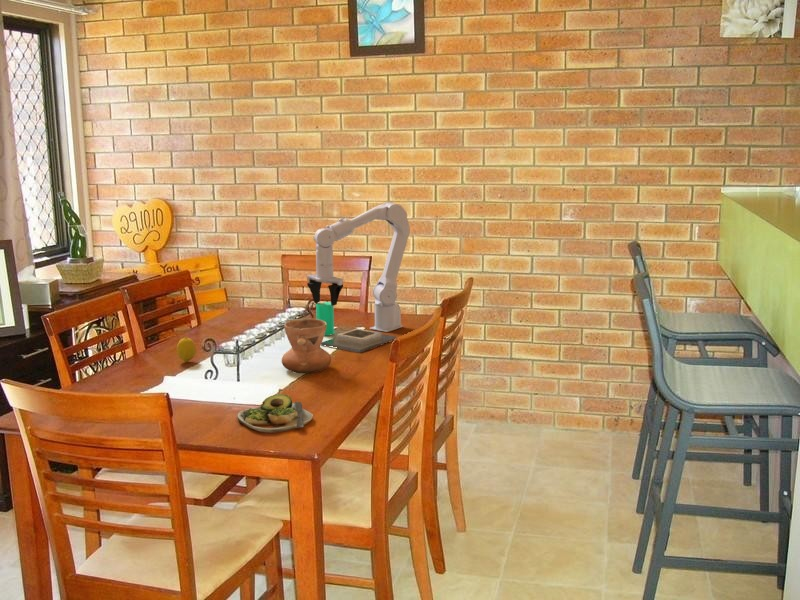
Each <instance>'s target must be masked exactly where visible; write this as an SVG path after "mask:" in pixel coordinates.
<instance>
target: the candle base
mask: <svg viewBox="0 0 800 600" xmlns="http://www.w3.org/2000/svg"><path fill="white" fill-rule="evenodd" d="M395 338H397V336H396V335H389V334H382V332H381V331H375V330H374V331H373V330H370V329H369V330H367V329H362V328H353V329H351V330H347V331H344V332H342V333H339V334H336V337H334V338H331V339H328V340H324V341H322V343H321V345H326V346H333V347H337V348H340V349H339V350H342V349H343V350H344V351H347V350H348V351H349V352H355V353H359V354H361V353H364V352H367V351H368V350H372V349H375V348H377V347H376V346H378V347H380V346H379V345H381V344H383V345H385V344H384V343H386V342H389V341H391V340H392V342H394V341H395V340H394V339H395ZM397 339H398V338H397ZM393 340H394V341H393ZM389 343H390V342H389ZM386 344H387V343H386ZM321 345H320V346H321ZM326 346H325V347H326ZM381 346H382V345H381ZM374 347H375V348H374ZM337 348H336V349H337ZM371 348H372V349H371ZM343 350H342V351H343ZM366 350H367V351H366ZM348 351H347V352H348Z"/></svg>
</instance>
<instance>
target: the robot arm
mask: <svg viewBox="0 0 800 600" xmlns="http://www.w3.org/2000/svg"><path fill="white" fill-rule="evenodd" d="M375 220H377V221H386V222H387V223H389V226H390V227H391V229H392V230H393V235H392V239H391V241H390V242H391V243H390V246H389V249H388V253H387V256H386V259H385V263H384V264H385V265H384V267H383V271H382V274H381V275H380V277H379V278H378V281H377V283H376V284H375V286H374V287H373V289H372V295H373V297H374V298H375V301H374V326H371V327H369V330H371V331H373V330H374V331H377V332H385V333H389V332H393V331H395V330H397V329H401V328H404V327H403V325H402V319H401V318H402V314H401V312H402V309H401V306H400V305H399V303H397V302H396V300H397V299H398V293H397V289H398V283H397V282H398V281H397V280H398V279H397V278H398V275H399V271H400V268H401V265H402V261H403V257H404V253H405V250H406V247H407V243H408V239H409V236H410V231H411V227H410V224H409V218H408V213H407V211H406V210H405V208H404V207H403V206H402V205H400V204H397V203H394V202H392V201H386V202H384V203H382V204H379V205H376V206H374V207H372V208H370V209H368V210H366V211H365V212H363V213H361V214H359V215H356V216H355V217H353V218H351V219H349V218H347V217H346V218H339V219H338V221H336V222H334V223H332V224H330V225H329V224H327V225H325V228H319V229H317V230H316V232H315V233H314V236H313V240H314V242H315V266H316V267H315V268H316V269H315V271H316V274H307V275H306V281H307V283H306V285H307V287H308V289H309V291H310V293H311V295H312V299H313V303H315V304H317V303H321V287H322V284H324V283H325V284H329V285H328V291H329V294H330V302H331V305H332V306H337V305H338V300H339V296H340V294H341V292H342V290H343V287H344V278H340V277H336V276H334V250H333V245H334V243H335V242H339V241H340V240H342V239H345V238H346V237H348V236H350V235H352V234H353V233H354V231H355V229H357V228H359V227H361V226H364V225H366V224H368V223H371V222H372V221H375Z"/></svg>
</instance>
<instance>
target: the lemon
mask: <svg viewBox="0 0 800 600" xmlns="http://www.w3.org/2000/svg"><path fill="white" fill-rule="evenodd" d="M196 351H197V349H196V344H195V342H194V340H193V339H192V338H189V337H188V336H184V337H183V338H181V339H180V340H179V341H178V343H177V346H176V353H177V356H178V358H179V360H182V361H183V362H185V363H189V362H190V361H191V360H193V358H194V357H195V356H196Z"/></svg>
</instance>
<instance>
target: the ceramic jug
mask: <svg viewBox="0 0 800 600" xmlns="http://www.w3.org/2000/svg"><path fill="white" fill-rule="evenodd" d="M326 326H327V323H326V322H325V321H322V320H319V319H316V318H311V317H308V318H307V317H305V318H296V319H291V320H289V321H286V322H285V323H284V326H283V327H284V331H285V334H286V337H287V340H288V341H289V344H290V346H291V348H290V349H289V350H287V351H286V352H285V353H283V355H282V358H281V364H282V366H283V367H284V368H285V369H286V370H288V371H289V372H292V373H297V374H313V373H317V372H320V371H323V370H325V369H327V368H328V367H329V366H330V365H331V363H332V356H331V354H330V353H329V352H328V351H327V350H325V349H324V348H323V347H322V346H321V343H322V342H324V341H323V339H324V338H325V336H324V335H325V331H326Z"/></svg>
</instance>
